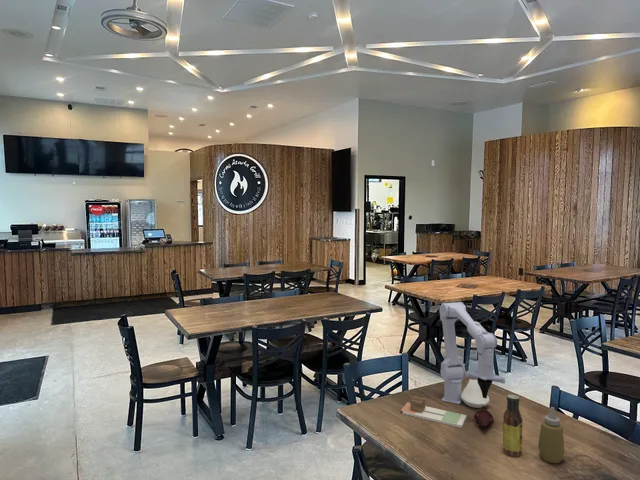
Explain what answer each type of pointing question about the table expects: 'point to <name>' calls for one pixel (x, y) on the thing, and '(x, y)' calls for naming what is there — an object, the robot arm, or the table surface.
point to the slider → (417, 404)
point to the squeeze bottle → (551, 438)
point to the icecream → (483, 417)
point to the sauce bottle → (512, 427)
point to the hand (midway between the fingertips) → (484, 397)
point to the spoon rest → (474, 395)
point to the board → (437, 415)
